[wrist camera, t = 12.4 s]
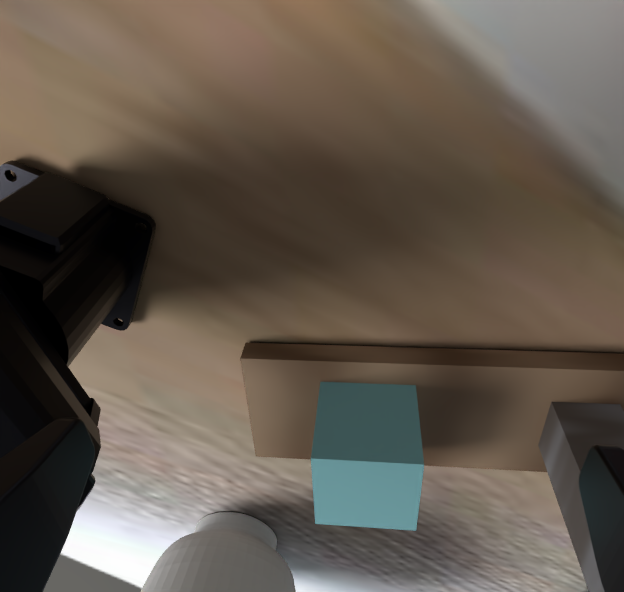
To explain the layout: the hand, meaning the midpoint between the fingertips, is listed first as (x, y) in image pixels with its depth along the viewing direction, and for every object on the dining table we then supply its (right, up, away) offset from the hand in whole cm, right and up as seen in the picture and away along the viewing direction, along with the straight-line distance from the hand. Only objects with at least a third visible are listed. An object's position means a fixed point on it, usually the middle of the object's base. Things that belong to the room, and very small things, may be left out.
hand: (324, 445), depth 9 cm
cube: (+2, -3, +16) cm, 17 cm away
